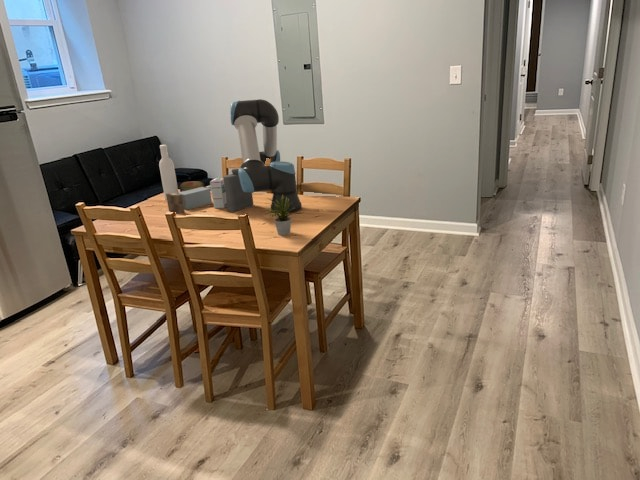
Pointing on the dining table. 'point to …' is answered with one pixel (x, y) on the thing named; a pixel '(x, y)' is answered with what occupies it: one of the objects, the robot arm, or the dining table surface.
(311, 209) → the dining table surface
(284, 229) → the house plant
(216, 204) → the syrup box
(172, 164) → the bottle
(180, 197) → the walnut board
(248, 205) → the flask
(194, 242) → the dining table surface
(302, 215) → the dining table surface
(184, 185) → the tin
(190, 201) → the slate block
